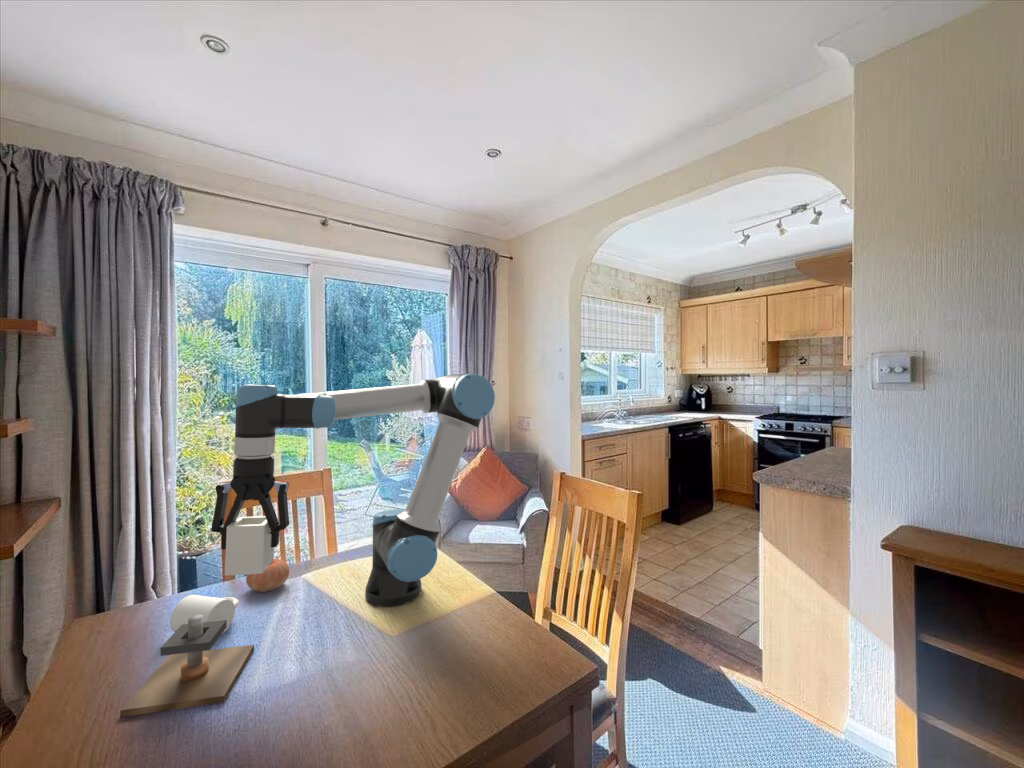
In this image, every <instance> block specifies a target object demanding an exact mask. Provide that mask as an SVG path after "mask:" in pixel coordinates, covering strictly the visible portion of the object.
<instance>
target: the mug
mask: <svg viewBox="0 0 1024 768" xmlns="http://www.w3.org/2000/svg"><path fill="white" fill-rule="evenodd" d="M239 604H240V602H239V600H238V599H237V598H235V597H233V596H228V597H227V596H226V597H214V596H207V595H200V594H199V595H198V594H190V595H187V596H185V597H183V598H182V599H181V600H180V601H179V602H177V604H176V605H175V607H174V608H173V610H172V612H171V614H170V618H169V625H170V629H171V630H172V631H173V632H174V633H175V632H176V631H177V630H178V629H179V627H180V626H181V625H183V624H188V619H189V618H190V617H192V616H194V615H203V622H211V621H221V620H227V627H226V628H225V630H224V631H223V633H222V634H221V635H220V636H222V635H223V634H224V633H225V632H226V631H227V630H228V629H229V627H230V626H231V625H232V622H233V621H234V617H235V613H236V608H237V607H238V606H239Z"/></svg>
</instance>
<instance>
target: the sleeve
mask: <svg viewBox="0 0 1024 768" xmlns="http://www.w3.org/2000/svg"><path fill="white" fill-rule="evenodd" d="M270 531H271V530H270V527H269V525H268V522H267V519H266V517H265V515H263V516H262V515H258V516H257V515H256V516H255V515H254V516H238V517H237V519H236V520H235V521H234V522H233V523H231V524H230V525H228V526H227V534H226V549H225V559H224V560H225V561H224V576H240V575H245V576H246V575H247V574H262V573H263V572H264V571H265V570H266V568H267V567H268V566H269V565H270V564H267V565H266V549H267V534H268V533H269V532H270Z"/></svg>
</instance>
